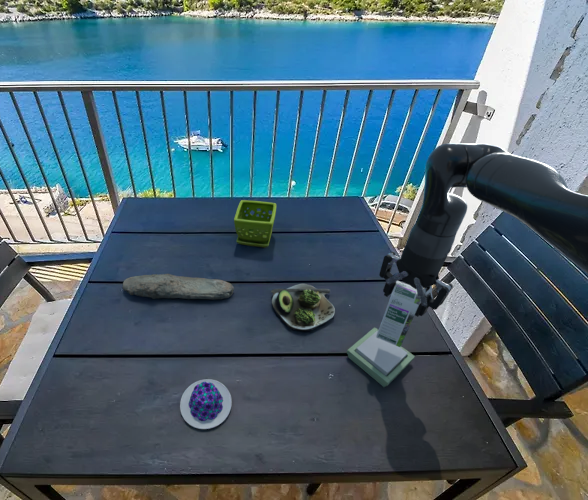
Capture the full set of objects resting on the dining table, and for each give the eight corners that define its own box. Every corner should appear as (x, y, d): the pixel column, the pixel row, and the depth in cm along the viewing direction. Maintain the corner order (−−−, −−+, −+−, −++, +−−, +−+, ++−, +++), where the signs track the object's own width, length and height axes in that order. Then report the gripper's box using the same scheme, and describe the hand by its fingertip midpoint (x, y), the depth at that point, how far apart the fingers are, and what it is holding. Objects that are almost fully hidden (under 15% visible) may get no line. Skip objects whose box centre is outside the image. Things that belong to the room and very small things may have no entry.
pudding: (239, 419, 79) (239, 407, 76) (187, 438, 75) (185, 427, 72) (222, 374, 88) (221, 362, 84) (175, 390, 84) (172, 378, 81)
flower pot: (240, 226, 138) (240, 198, 131) (275, 230, 136) (277, 202, 128) (233, 248, 128) (232, 219, 120) (270, 252, 126) (273, 223, 118)
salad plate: (313, 278, 115) (315, 267, 112) (349, 315, 103) (352, 304, 100) (262, 297, 108) (263, 286, 106) (294, 339, 96) (296, 328, 93)
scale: (411, 363, 90) (415, 356, 88) (384, 389, 84) (388, 383, 83) (372, 333, 97) (374, 327, 96) (345, 356, 92) (347, 349, 90)
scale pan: (406, 356, 89) (408, 353, 88) (385, 376, 84) (387, 372, 83) (375, 334, 94) (377, 330, 93) (355, 351, 90) (356, 348, 89)
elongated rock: (232, 308, 106) (234, 286, 114) (233, 295, 103) (234, 274, 111) (118, 299, 107) (128, 278, 115) (115, 286, 104) (126, 266, 112)
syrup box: (375, 337, 83) (390, 295, 75) (381, 321, 87) (397, 279, 79) (400, 348, 81) (419, 305, 72) (405, 331, 85) (424, 288, 76)
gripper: (383, 235, 70) (365, 293, 80) (455, 273, 61) (424, 333, 71) (404, 222, 73) (383, 279, 84) (475, 256, 65) (442, 315, 75)
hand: (402, 304), depth 77 cm, fingers closed on syrup box, 7 cm apart
